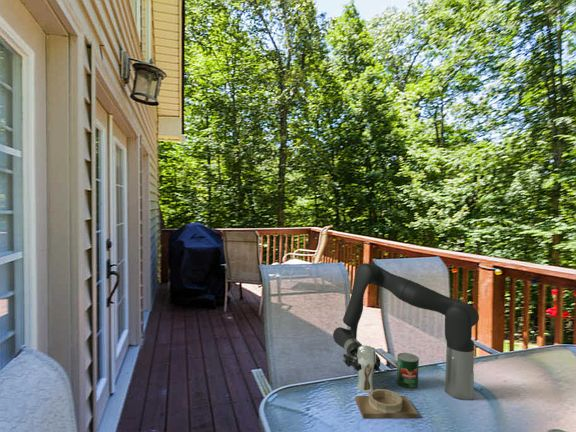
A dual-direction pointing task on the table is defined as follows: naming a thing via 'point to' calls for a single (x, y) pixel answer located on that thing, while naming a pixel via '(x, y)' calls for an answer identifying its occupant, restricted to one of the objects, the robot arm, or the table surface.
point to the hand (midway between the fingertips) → (368, 368)
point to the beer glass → (366, 367)
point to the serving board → (377, 414)
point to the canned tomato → (407, 371)
